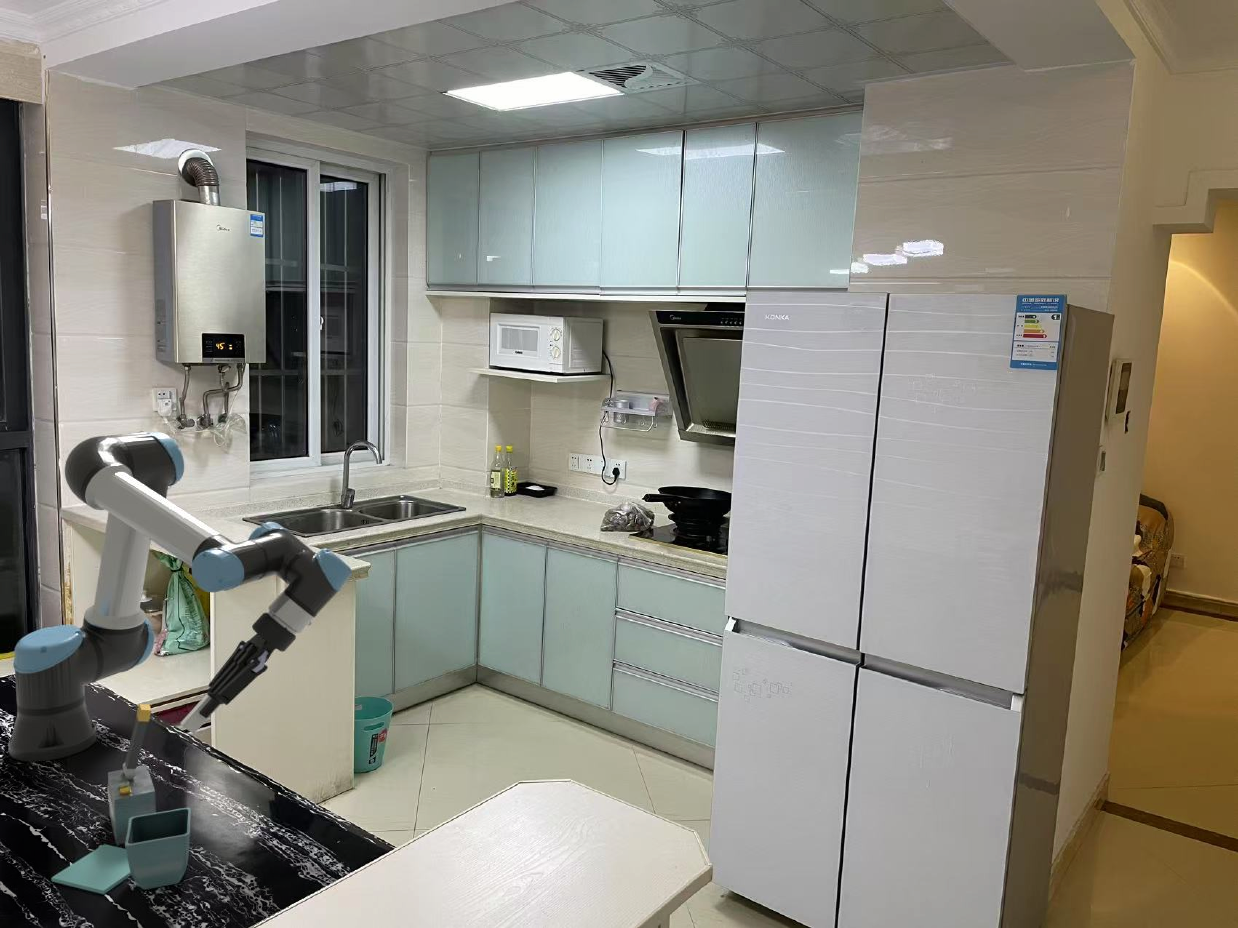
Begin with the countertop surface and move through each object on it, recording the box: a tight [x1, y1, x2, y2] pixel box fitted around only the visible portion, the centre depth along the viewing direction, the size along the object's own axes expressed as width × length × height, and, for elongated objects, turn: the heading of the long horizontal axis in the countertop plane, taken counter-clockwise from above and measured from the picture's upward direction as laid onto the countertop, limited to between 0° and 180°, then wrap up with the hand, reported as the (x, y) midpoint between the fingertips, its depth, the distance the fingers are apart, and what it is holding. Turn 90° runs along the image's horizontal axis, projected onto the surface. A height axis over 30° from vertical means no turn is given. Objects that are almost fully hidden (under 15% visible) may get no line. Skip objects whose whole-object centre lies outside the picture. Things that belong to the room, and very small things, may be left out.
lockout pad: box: [50, 843, 132, 895], centre depth 145 cm, size 10×10×1 cm
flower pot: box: [124, 807, 192, 890], centre depth 143 cm, size 9×9×9 cm
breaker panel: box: [106, 764, 157, 846], centre depth 158 cm, size 6×11×9 cm, turn 34°
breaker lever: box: [122, 703, 152, 779], centre depth 159 cm, size 2×4×12 cm, turn 34°
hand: (187, 728), depth 163 cm, fingers closed
